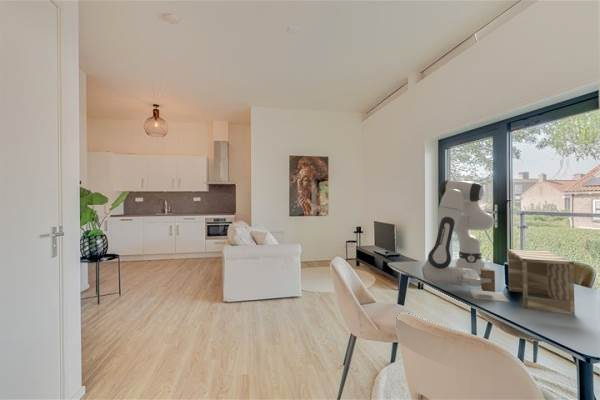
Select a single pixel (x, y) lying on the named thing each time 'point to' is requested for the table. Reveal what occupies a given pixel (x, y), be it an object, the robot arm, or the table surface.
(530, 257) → the cubby
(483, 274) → the block
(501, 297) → the mat
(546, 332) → the table surface
